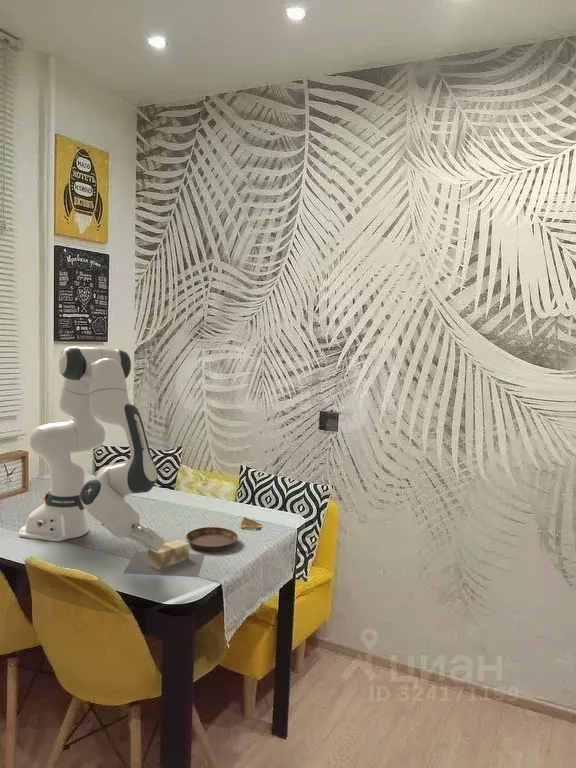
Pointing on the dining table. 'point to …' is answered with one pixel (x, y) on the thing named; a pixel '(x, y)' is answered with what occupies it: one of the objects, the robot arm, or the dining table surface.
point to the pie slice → (249, 524)
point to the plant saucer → (212, 538)
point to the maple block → (168, 554)
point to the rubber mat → (178, 569)
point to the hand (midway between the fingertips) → (149, 545)
